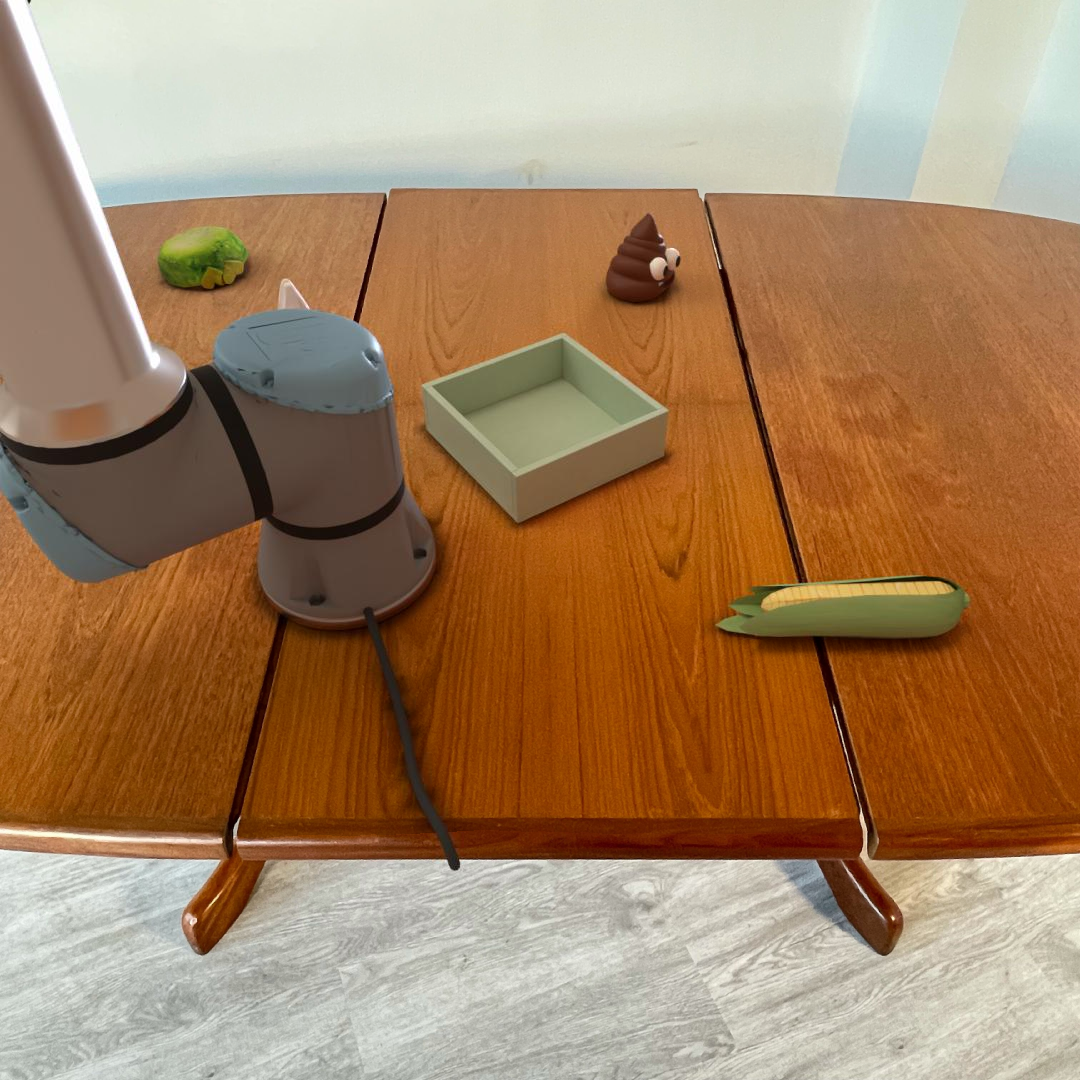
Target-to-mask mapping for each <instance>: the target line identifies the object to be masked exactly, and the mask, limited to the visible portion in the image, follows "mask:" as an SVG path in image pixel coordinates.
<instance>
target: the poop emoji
mask: <svg viewBox="0 0 1080 1080" xmlns="http://www.w3.org/2000/svg"><path fill="white" fill-rule="evenodd" d="M656 223H657V222H656V220H655V218H654V216H653V214H652V213H650V212H647V213H646V214H645V215H644V216H643V217H642V218H641V219H640V220H639V221H638V222H637V223H636V224H635V225H633V227H632V228H631V230H630V232H629V233H630V234H629V235H625V236H624V239H623V242H621V243H620V244H619V245H618V246H617V251H616V253H617V254H615V255H614V256H613V257H612V258H611V260H610V262H609V266H608V269H607V271H606V274H605V285H606V288H607V290H608V293H610V294H611V295H612V296H614V297H615V298H617V299H619V300H623V301H625V302H632V303H644V302H649V301H651V300H654V299H656V298H657V297H659V296H660V295H661V294H663V292H664V291H665V290H666V289H669V288H670V287H672V285H673V283H674V282H675V279H676V269H677V268H678V267H679V266H680V264H681V255H680V252H679V251H678V250H677V249H676V248H674V247H669V248H667V246H666V243H665V242H664V237H663V236H662V235H661V234H660V233H659V231H658V227H657V226H658V225H657V224H656Z"/></svg>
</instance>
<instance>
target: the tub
mask: <svg viewBox="0 0 1080 1080" xmlns="http://www.w3.org/2000/svg"><path fill="white" fill-rule="evenodd" d="M420 388H421V397H422V405H423V412H424V420H425V429H426V431H427V432H428V433H429V434H430V435H431V436H432V437H433V438H434V439H435V440H436V441H437V442H438V443H439V444H440V445H441V446H442V447H443V448H444V449H445V450H446V452H448V454H449V455H451V456H452V458H454V460H455V461H456V462H457V463H458V464H459V465H460V466H461V467H462V468H463V469H464V470H465V471H466V472H467V473H468V474H469V475H470V476H471V477H472V478H473V479H474V480H475V481H476V482H477V484H479V485H480V486H481V487H482V488H483V490H484V491H486V493H487V494H488V495H490V496H491V498H492V499H493V500H494V501H495V502H496V503H497V504H498V505H499V506H500V507H501V508H502V509H503V510H504V511H505V512H506V513H507V514H508V515H509V516H510V517H511V518H512V519H513V520H514V521H515V522H516V524H519V523H522V522H524V521H526V520H529V519H530V518H532V517H534V516H537V515H539V514H541V513H543V512H546V511H547V510H550V509H553V508H554V507H557V506H558V505H560V504H563V503H566V502H567V501H569V500H572V499H574V498H576V497H578V496H580V495H583V494H585V493H587V492H589V491H592V490H593V489H596V488H598V487H600V486H602V485H604V484H607V483H609V482H611V481H613V480H616V479H617V478H620V477H622V476H625V475H626V474H628V473H631V472H633V471H635V470H638V469H639V468H641V467H644V466H646V465H648V464H649V463H652V462H654V461H657V460H659V459H661V458H664V456H665V449H666V440H667V434H668V433H667V431H668V422H669V415H670V411H669V409H667V408H666V407H664V405H662V404H661V403H660V402H658V401H657V400H656V399H654V398H653V397H651V396H650V395H648V393H646V392H645V391H643V390H642V389H641V388H639V387H638V386H637V385H635V384H634V383H632V381H630V380H629V379H627V378H626V377H624V375H622V374H621V373H619V372H618V371H617V370H615V369H614V368H612V367H611V366H610V365H609V364H607V363H606V362H604V361H603V360H602V359H600V358H599V357H597V356H596V355H595V354H594V353H592V352H591V351H589V350H588V349H587V348H586V347H584V346H583V345H582V344H580V343H579V342H578V341H576V340H575V339H574V338H572V337H571V336H569V335H568V334H566V333H565V332H562V333H559V334H556V335H554V336H550V337H547V338H545V339H543V340H540V341H537V342H535V343H532V344H529V345H527V346H524V347H521V348H518V349H515V350H513V351H510V352H508V353H507V352H506V353H505V354H502V355H499V356H496V357H493V358H491V359H487V360H485V361H482V362H480V363H477V364H474V365H471V366H469V367H466V368H463V369H461V370H457V371H455V372H452V373H449V374H446V375H444V376H441V377H439V378H438V377H437V378H435V379H432V380H430V381H428V382H425V383H422V384H421V386H420Z"/></svg>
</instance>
